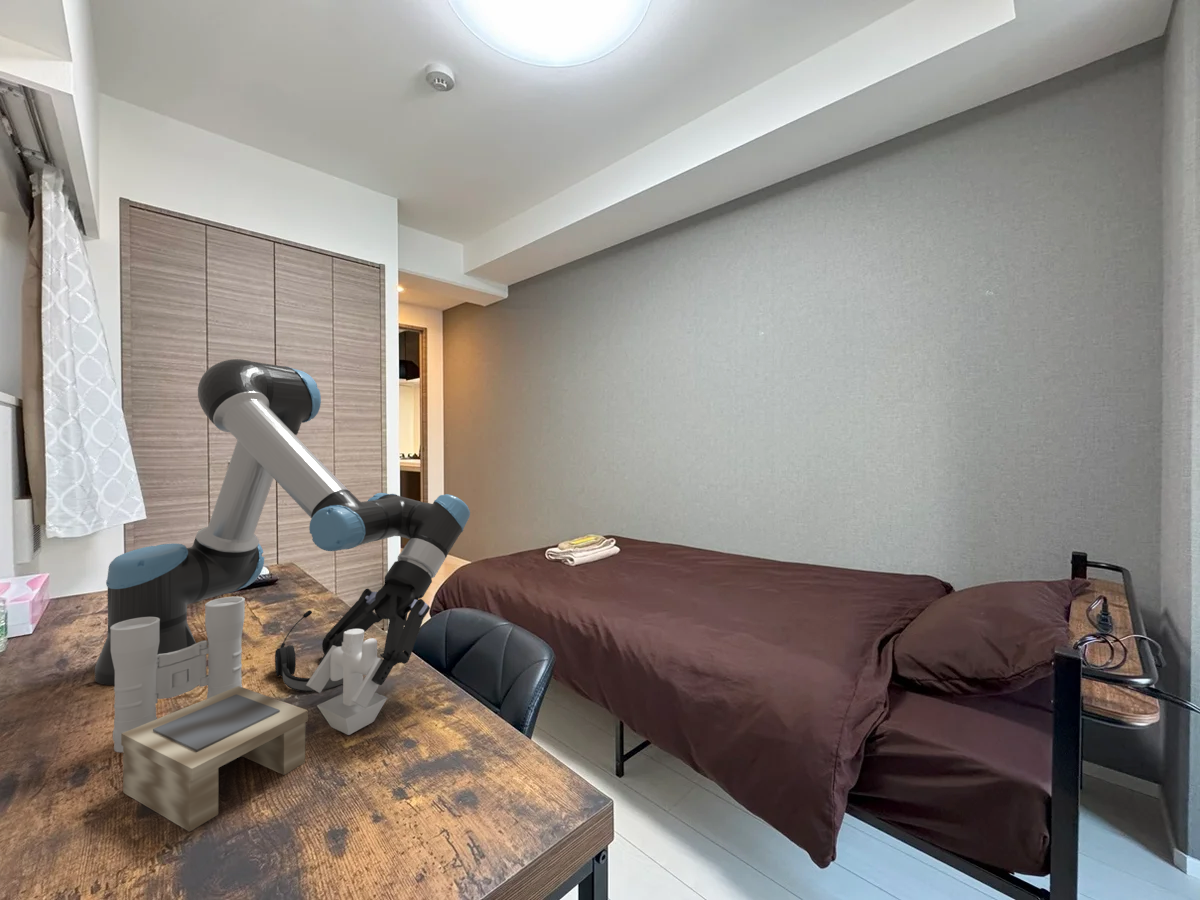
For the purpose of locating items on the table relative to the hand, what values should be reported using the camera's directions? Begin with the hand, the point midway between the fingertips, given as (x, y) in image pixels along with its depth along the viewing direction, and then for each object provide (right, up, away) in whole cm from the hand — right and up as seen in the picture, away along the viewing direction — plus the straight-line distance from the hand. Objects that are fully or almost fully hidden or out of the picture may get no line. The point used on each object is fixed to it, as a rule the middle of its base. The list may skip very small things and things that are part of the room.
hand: (335, 696), depth 76 cm
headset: (-15, -6, +22) cm, 27 cm away
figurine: (+1, -6, +3) cm, 7 cm away
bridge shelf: (-11, -6, -9) cm, 16 cm away
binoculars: (-26, -6, +3) cm, 27 cm away
